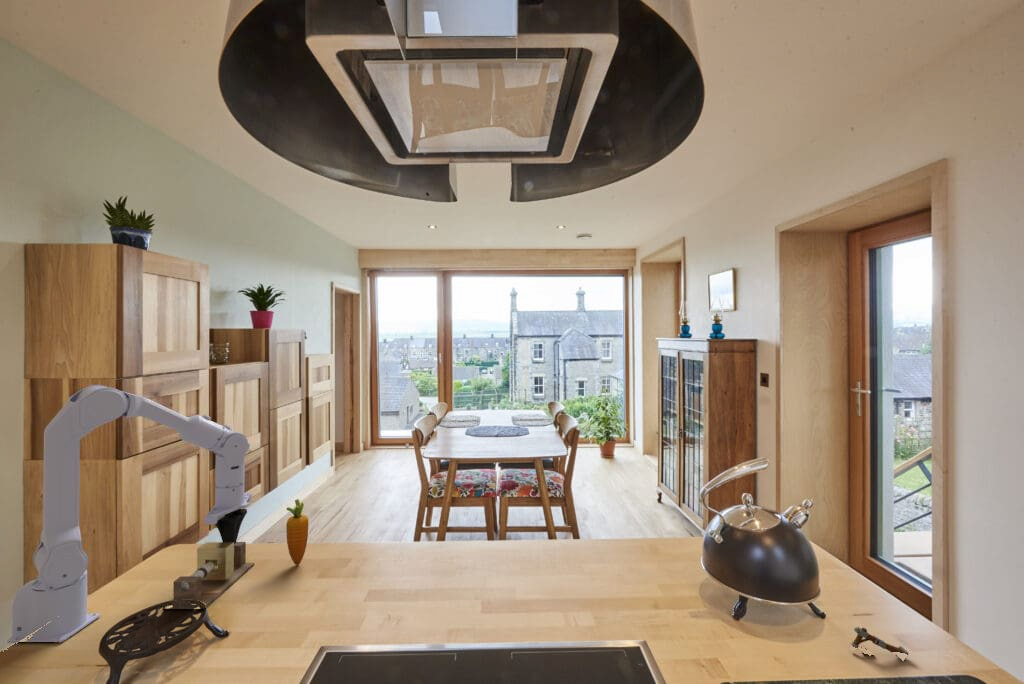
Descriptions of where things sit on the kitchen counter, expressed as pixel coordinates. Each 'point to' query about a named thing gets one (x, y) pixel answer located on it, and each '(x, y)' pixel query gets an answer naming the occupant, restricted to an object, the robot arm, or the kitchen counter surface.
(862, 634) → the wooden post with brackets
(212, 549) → the brushed brass square block
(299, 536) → the carrot
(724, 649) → the kitchen counter surface
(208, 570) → the pipe
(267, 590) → the kitchen counter surface
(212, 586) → the slider rail
